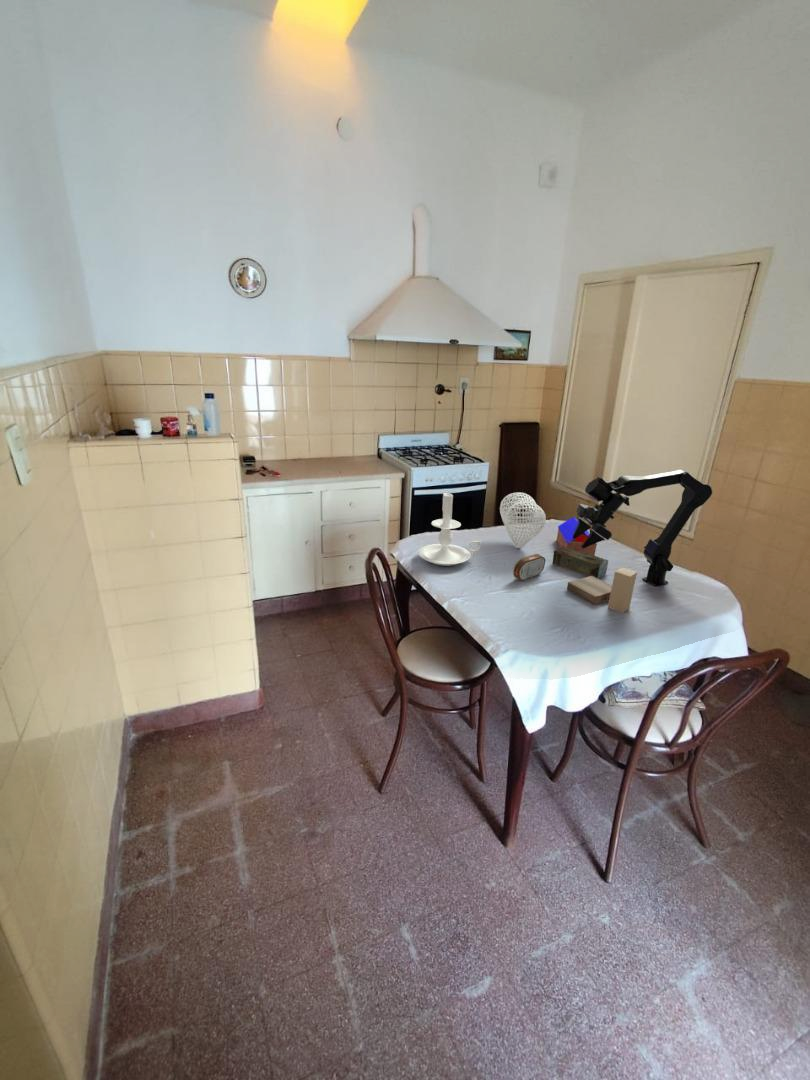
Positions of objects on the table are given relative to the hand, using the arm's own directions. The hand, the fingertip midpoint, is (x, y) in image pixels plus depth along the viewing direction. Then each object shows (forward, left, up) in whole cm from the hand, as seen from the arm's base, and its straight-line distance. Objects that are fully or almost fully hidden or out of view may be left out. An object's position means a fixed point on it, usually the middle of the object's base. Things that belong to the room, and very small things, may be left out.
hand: (577, 542), depth 175 cm
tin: (+13, -9, -15) cm, 22 cm away
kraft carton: (+2, +22, -15) cm, 27 cm away
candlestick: (+31, -35, -15) cm, 49 cm away
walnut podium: (+2, +11, -15) cm, 19 cm away
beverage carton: (-10, -6, -15) cm, 20 cm away
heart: (-3, -33, -15) cm, 37 cm away
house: (-24, -21, -15) cm, 36 cm away
